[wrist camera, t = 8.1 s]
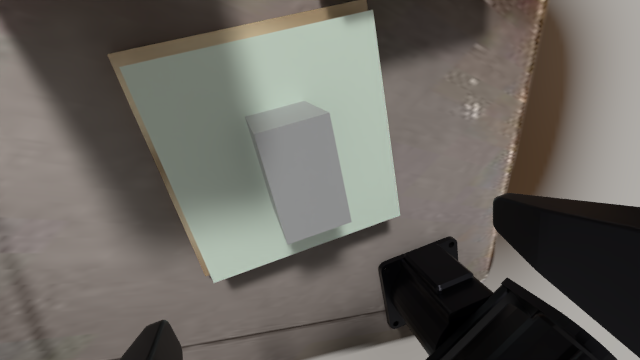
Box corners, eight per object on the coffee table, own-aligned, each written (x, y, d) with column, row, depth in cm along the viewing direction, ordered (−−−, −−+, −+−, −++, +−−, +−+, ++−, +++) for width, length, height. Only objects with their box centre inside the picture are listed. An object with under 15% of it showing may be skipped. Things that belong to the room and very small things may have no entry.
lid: (385, 202, 22) (440, 248, 17) (213, 262, 20) (213, 338, 15) (356, 14, 18) (419, -5, 12) (130, 66, 15) (84, 69, 10)
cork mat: (390, 205, 23) (394, 209, 23) (205, 270, 21) (205, 276, 20) (361, 0, 18) (366, -2, 17) (110, 54, 15) (107, 54, 15)
